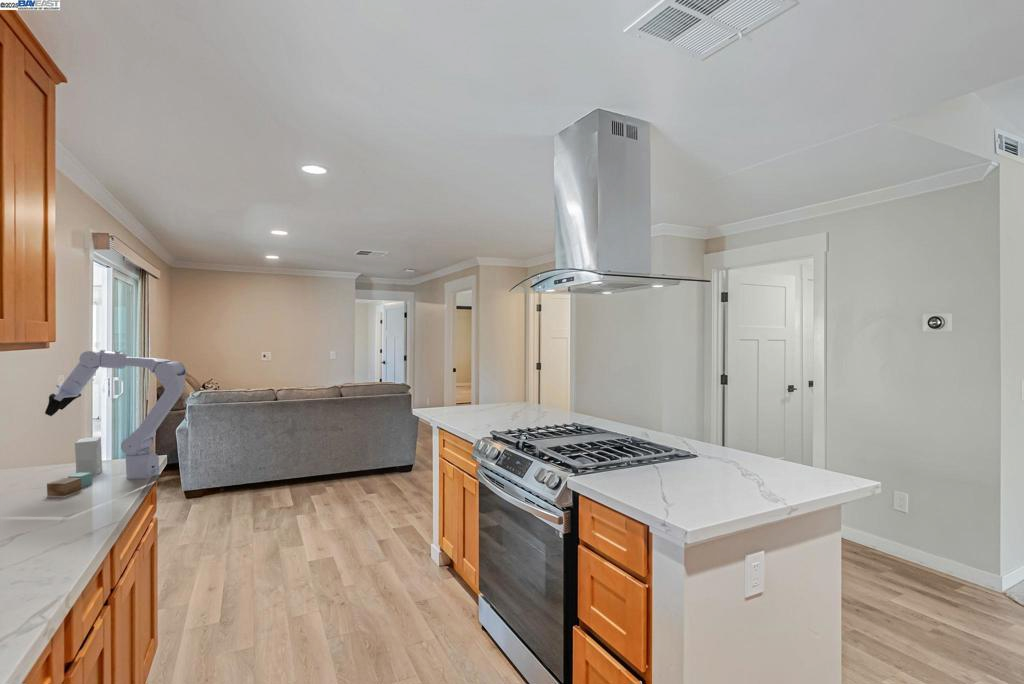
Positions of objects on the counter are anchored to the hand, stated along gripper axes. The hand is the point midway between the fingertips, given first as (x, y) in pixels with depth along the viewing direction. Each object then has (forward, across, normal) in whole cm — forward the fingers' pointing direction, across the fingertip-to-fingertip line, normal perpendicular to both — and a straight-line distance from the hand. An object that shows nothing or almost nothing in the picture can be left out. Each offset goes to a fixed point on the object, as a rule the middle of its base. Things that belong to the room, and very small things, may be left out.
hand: (53, 411), depth 183 cm
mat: (+12, +22, +21) cm, 33 cm away
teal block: (+13, +14, +22) cm, 29 cm away
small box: (+17, -4, +21) cm, 27 cm away
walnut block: (+12, +22, +20) cm, 32 cm away
